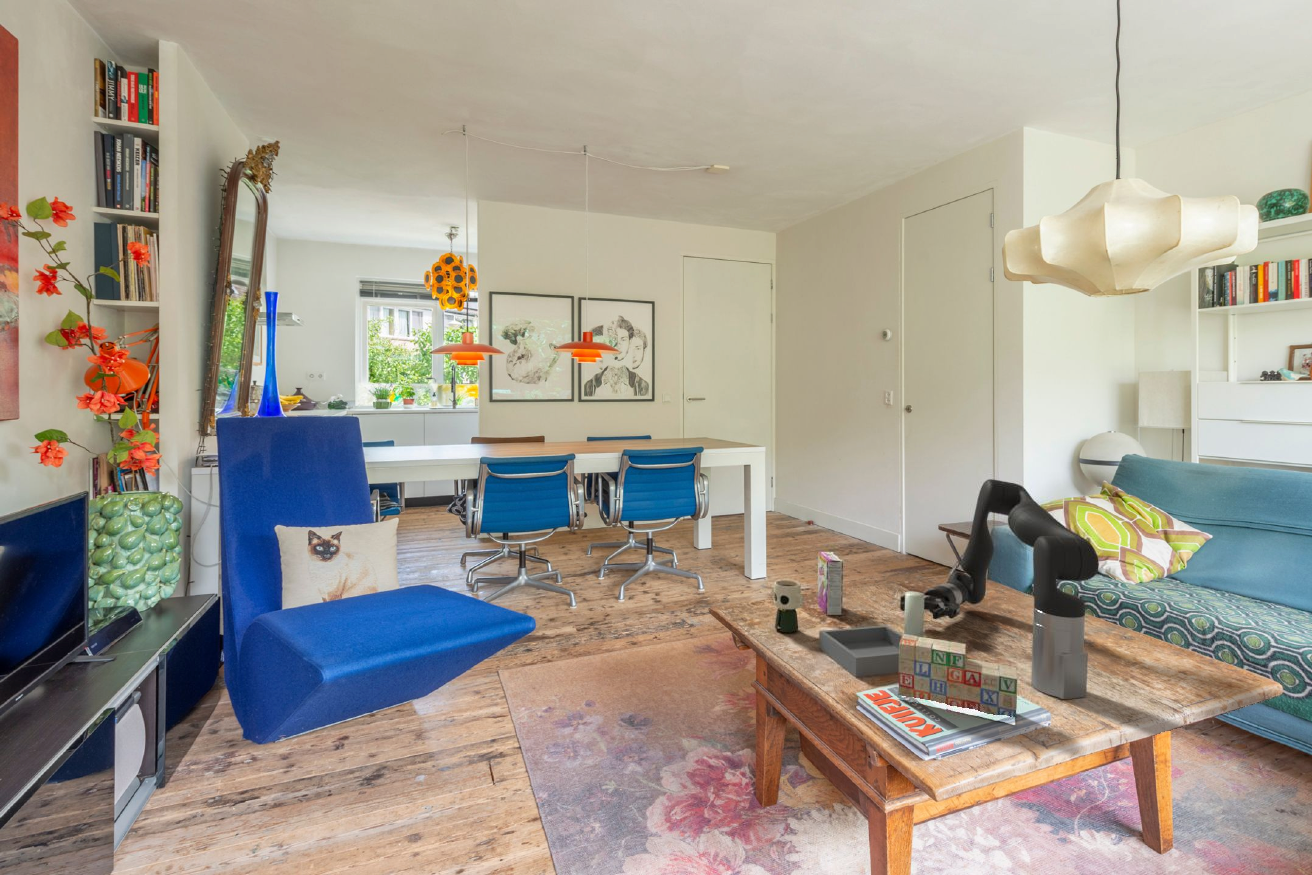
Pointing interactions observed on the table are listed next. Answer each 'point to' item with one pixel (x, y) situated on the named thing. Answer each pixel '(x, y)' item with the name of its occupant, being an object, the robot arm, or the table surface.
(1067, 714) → the table surface
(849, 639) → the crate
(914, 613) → the canister
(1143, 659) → the table surface
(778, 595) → the character mug
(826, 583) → the candy bar box
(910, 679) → the stack of blocks
